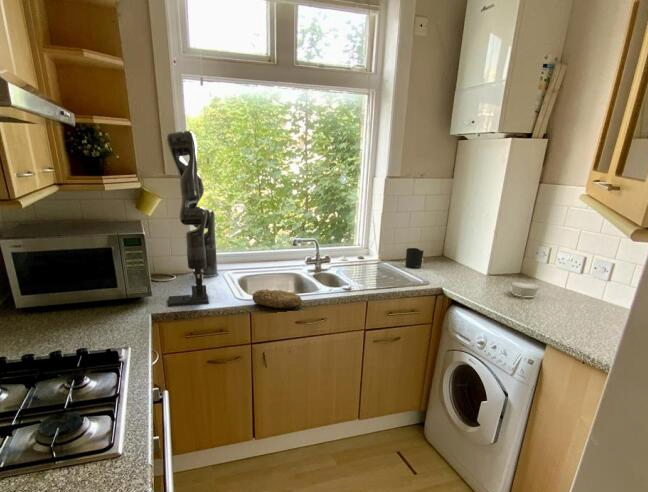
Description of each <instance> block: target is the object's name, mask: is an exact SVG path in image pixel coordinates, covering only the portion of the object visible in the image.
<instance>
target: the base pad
mask: <svg viewBox="0 0 648 492" xmlns="http://www.w3.org/2000/svg"><path fill="white" fill-rule="evenodd" d="M184 297H191V294H185V295H183V294H181V295H169V296H168V305H167V306H168V307H180V306H191V305H192V302H191V300H186V301H184Z"/></svg>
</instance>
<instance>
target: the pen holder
mask: <svg viewBox="0 0 648 492" xmlns="http://www.w3.org/2000/svg"><path fill="white" fill-rule="evenodd" d="M405 251H406V252H405V267H406V268H408V269H412V270H413V269H414V270H415V269H416V270H417V269H421V268H422V264H423V257H424V250H422V249H419V248H418V247H408V248H406V250H405Z"/></svg>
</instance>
